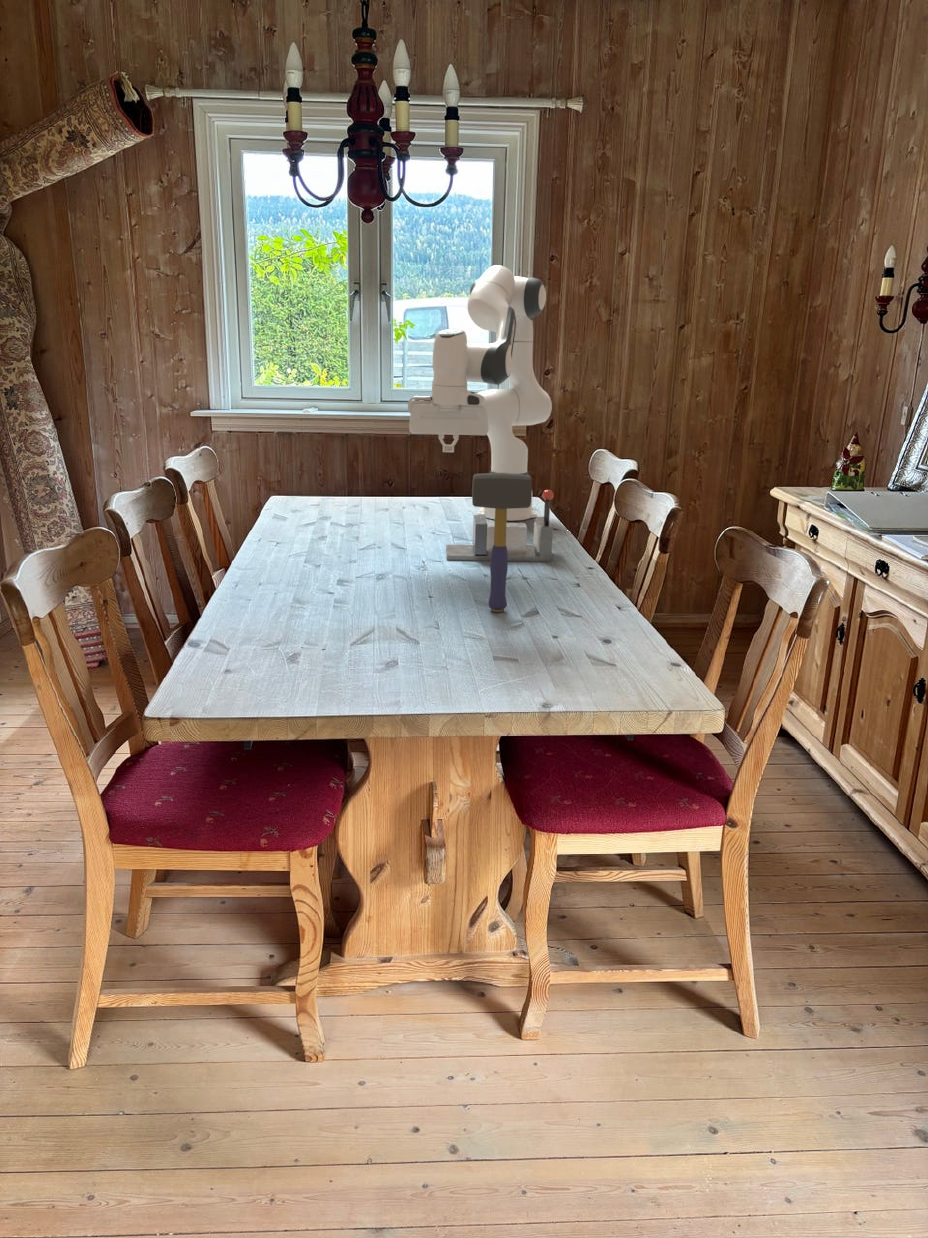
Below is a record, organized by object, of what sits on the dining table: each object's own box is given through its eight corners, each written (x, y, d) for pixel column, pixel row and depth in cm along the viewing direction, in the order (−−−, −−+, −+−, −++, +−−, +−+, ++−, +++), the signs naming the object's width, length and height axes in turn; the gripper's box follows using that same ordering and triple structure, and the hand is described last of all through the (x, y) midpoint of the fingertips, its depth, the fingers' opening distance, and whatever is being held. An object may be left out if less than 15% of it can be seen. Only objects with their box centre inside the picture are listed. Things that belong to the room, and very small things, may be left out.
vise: (446, 548, 264) (447, 481, 259) (545, 550, 265) (549, 482, 260) (446, 560, 253) (448, 489, 247) (551, 561, 254) (554, 491, 248)
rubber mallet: (468, 615, 209) (472, 475, 200) (468, 605, 216) (472, 469, 207) (527, 616, 209) (533, 476, 200) (524, 606, 216) (531, 470, 207)
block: (486, 548, 261) (487, 522, 259) (524, 548, 262) (525, 523, 259) (487, 552, 256) (488, 526, 254) (525, 553, 257) (527, 527, 255)
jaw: (472, 544, 264) (473, 515, 261) (486, 544, 264) (487, 515, 261) (474, 554, 253) (475, 524, 251) (488, 554, 253) (489, 524, 251)
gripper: (407, 396, 243) (407, 452, 247) (490, 398, 243) (488, 454, 248) (408, 394, 249) (407, 449, 253) (488, 396, 249) (486, 450, 254)
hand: (448, 451), depth 250 cm, fingers closed
